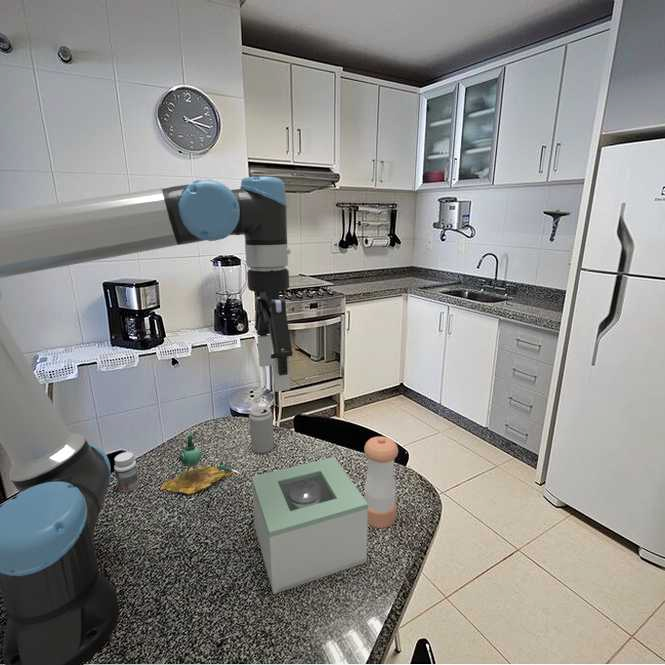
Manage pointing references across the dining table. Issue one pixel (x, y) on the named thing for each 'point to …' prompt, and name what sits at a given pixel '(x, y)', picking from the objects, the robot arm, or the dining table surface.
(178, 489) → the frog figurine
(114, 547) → the dining table surface
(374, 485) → the pepper shaker
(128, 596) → the dining table surface
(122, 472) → the pill bottle
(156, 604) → the dining table surface
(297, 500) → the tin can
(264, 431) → the beverage can
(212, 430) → the dining table surface
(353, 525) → the caddy
